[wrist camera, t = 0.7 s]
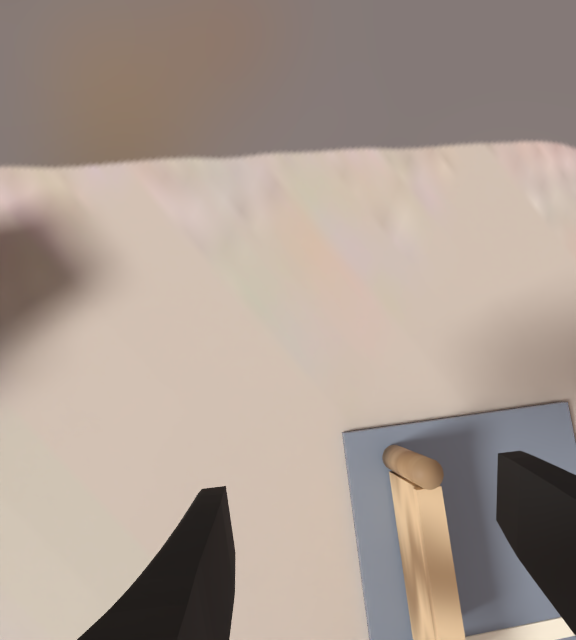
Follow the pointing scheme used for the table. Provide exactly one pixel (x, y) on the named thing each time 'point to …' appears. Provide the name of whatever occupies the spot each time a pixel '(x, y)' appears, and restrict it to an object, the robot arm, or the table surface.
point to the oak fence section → (424, 545)
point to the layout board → (458, 519)
